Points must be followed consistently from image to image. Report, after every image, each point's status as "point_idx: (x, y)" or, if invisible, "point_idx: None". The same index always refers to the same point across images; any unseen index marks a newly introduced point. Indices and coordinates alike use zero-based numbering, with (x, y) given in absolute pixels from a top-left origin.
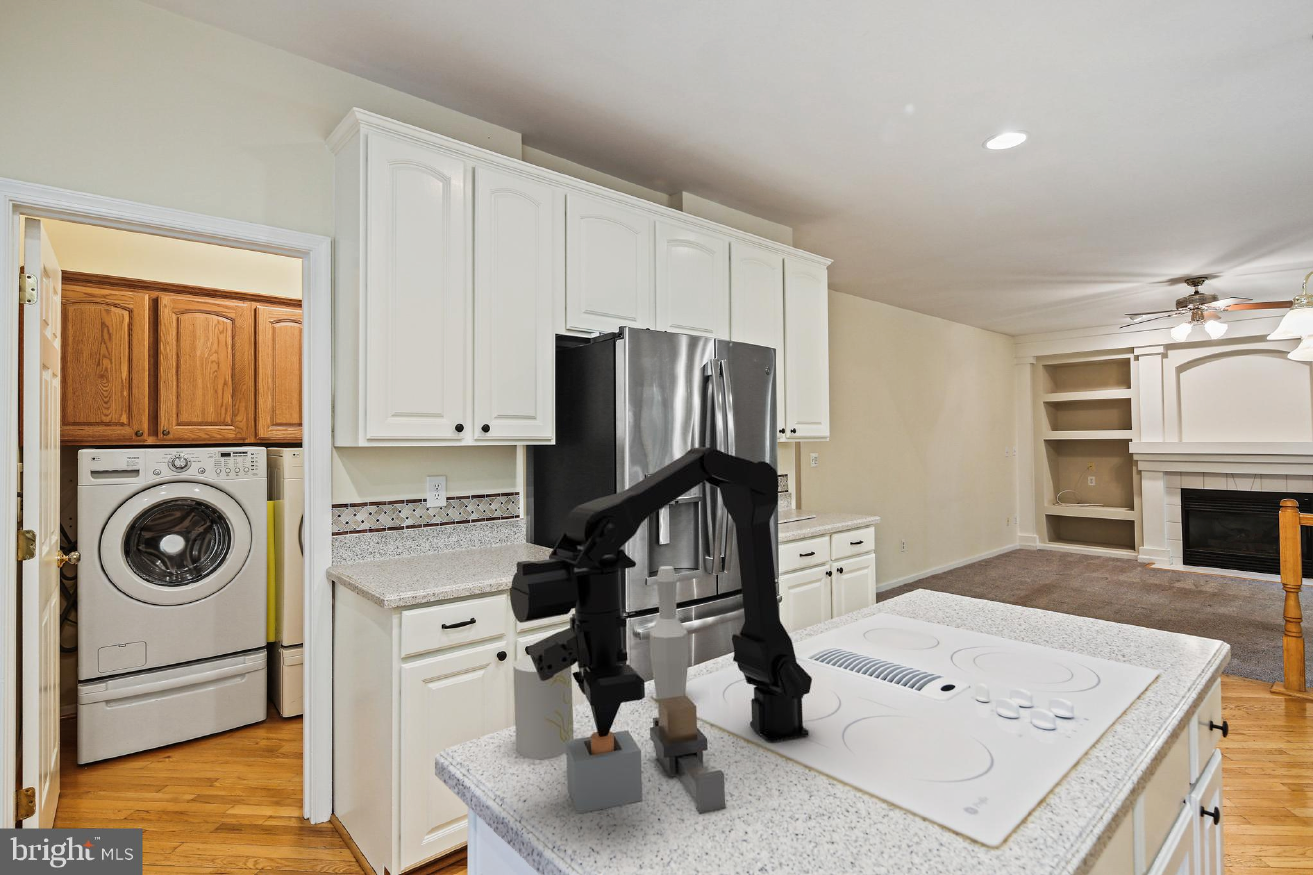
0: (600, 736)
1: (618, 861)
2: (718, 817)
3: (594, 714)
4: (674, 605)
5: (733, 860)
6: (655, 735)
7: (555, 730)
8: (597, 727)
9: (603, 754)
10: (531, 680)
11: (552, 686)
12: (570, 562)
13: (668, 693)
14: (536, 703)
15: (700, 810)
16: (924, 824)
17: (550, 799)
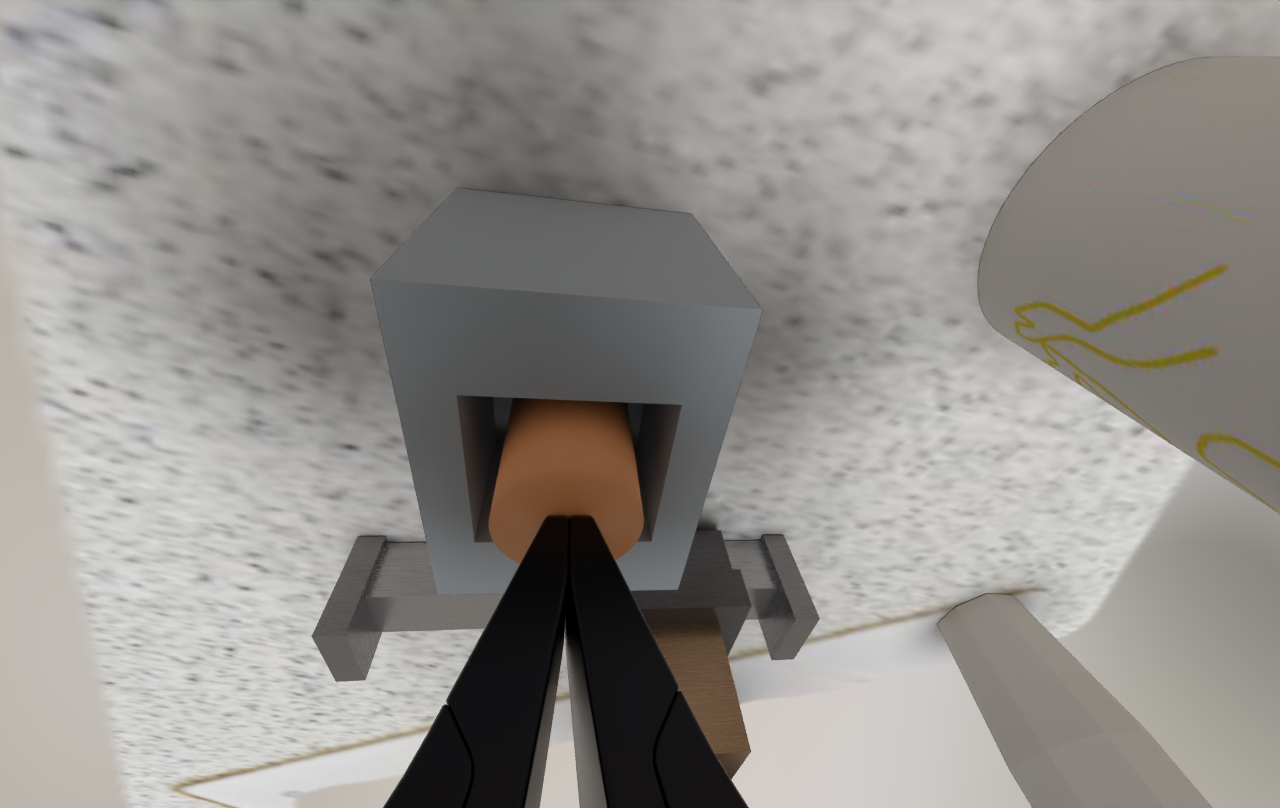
0: (545, 520)
1: (33, 249)
2: (330, 562)
3: (503, 676)
4: None
5: (92, 539)
6: (680, 607)
7: (1091, 294)
8: (519, 570)
9: (445, 461)
10: None
11: None
12: None
13: (977, 641)
14: None
15: (354, 545)
16: (254, 761)
17: (642, 100)
